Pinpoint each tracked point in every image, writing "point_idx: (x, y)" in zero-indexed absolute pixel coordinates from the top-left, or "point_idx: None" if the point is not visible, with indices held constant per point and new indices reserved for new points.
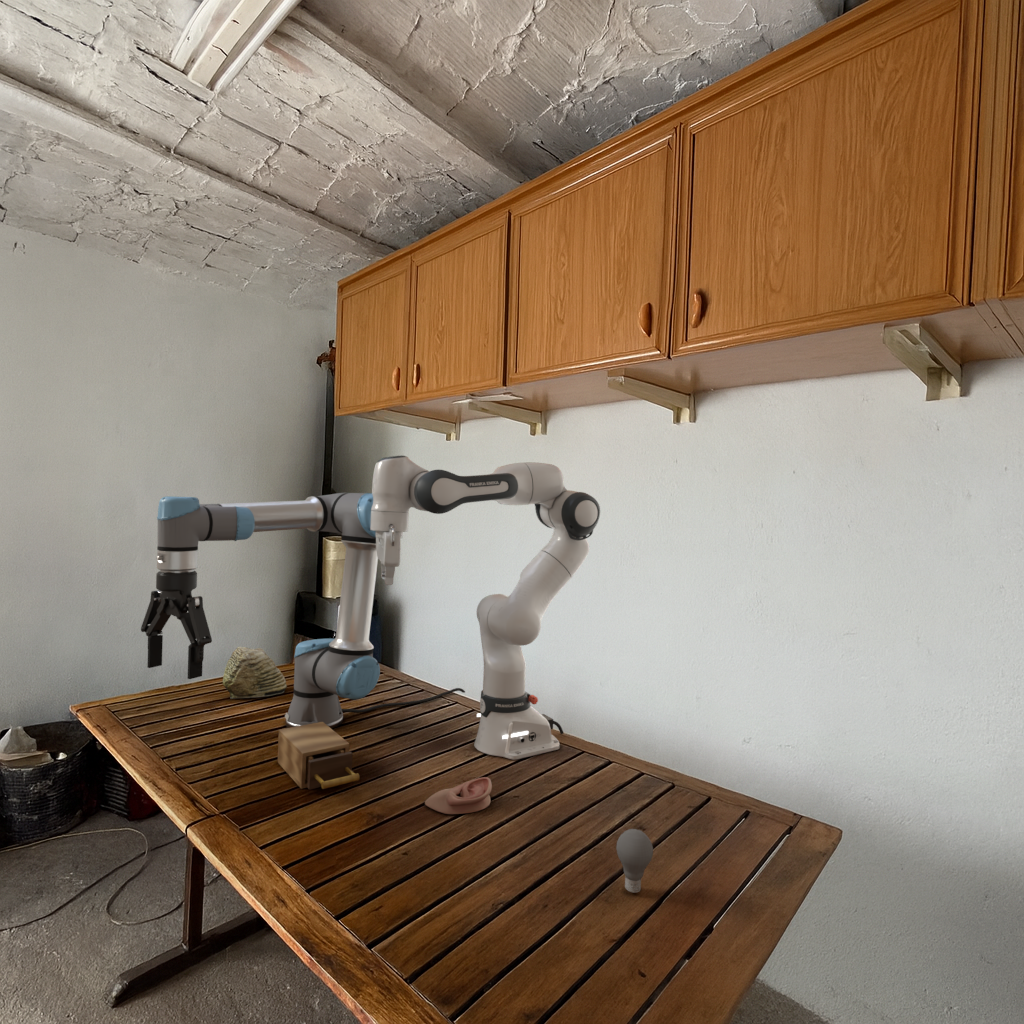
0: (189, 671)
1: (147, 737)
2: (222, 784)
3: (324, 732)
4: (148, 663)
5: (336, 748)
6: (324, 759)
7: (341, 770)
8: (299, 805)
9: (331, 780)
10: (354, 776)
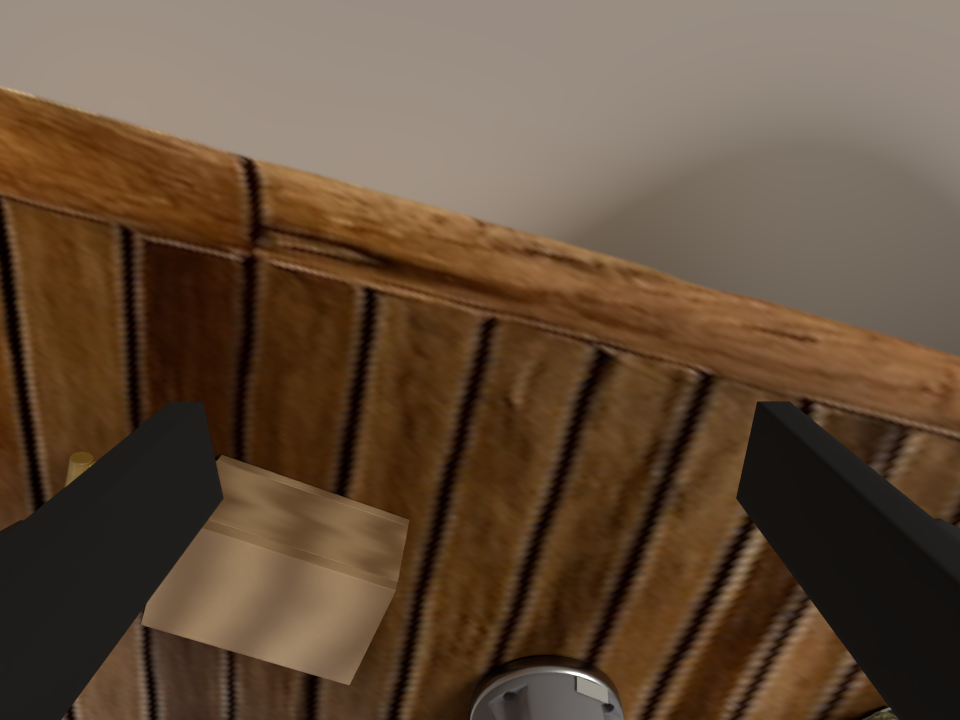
0: (140, 435)
1: (885, 437)
2: (408, 364)
3: (269, 640)
4: (798, 420)
5: None
6: None
7: None
8: (142, 395)
9: (68, 481)
10: None
